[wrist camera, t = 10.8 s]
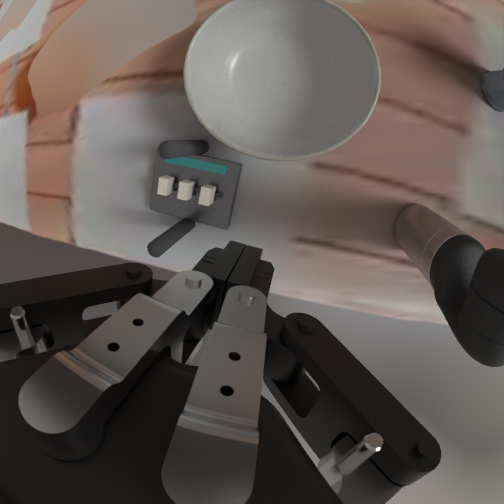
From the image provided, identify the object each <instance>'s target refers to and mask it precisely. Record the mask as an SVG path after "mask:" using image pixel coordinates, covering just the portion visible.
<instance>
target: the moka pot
mask: <svg viewBox="0 0 504 504" xmlns="http://www.w3.org/2000/svg"><path fill="white" fill-rule="evenodd" d="M481 85H482V90H483V93H484V96H485V97H486V99H487V100H488V102H489V104H490V105H491V106H492V107H493V108H494V109H496V110H498V111H499V112H503V111H504V68H503V70H499V71H492V72H486V73H484V75H483V76H482V80H481Z"/></svg>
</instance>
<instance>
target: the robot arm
mask: <svg viewBox="0 0 504 504" xmlns="http://www.w3.org/2000/svg"><path fill="white" fill-rule="evenodd" d="M394 236H395V239H396V241H397V243H398V244H399V245H400V247H401V248H402V249H403V250H404V252H405V253H406V254H407V255H408V256H409V258H410V259H411V260H412V261H413V263H414V264H415V265H416V266H417V268H418V269H419V270H420V272H421V273H422V274H423V275H424V277H425V278H426V279H427V281H428V282H429V283H430V285H431V286H432V287H433V289H434V294H435V299H436V302H437V304H438V305H439V307H440V309H441V311H442V313H443V314H444V316H445V318H446V320H447V322H448V324H449V326H450V328H451V330H452V332H453V333H454V335H455V337H456V338H457V340H458V342H459V343H460V345H461V346H462V347H463V348H464V349H465V351H466V352H467V353H468V354H469V355H470V356H471V357H472V358H474V359H475V360H476V361H478V362H480V363H481V364H483V365H486V366H491V367H499V366H503V365H504V249H499V248H492V249H489V250H487V251H486V250H485V248H484V247H483V246H482V245H481V243H479V242H478V241H477V240H476V239H474V238H473V237H471V236H470V235H468V234H467V233H465V232H464V231H462V230H461V229H459V228H458V227H456V226H455V225H453V224H452V223H450V222H449V221H447V220H446V219H444V218H443V217H441V216H440V215H438V214H436V213H435V212H433V211H432V210H430V209H429V208H427V207H425V206H423V205H419V204H415V205H410V206H408V207H406V208H404V209H403V210H402V211H401V212H400V214H399V215H398V216H397V219H396V221H395V224H394ZM262 250H263V249H260V248H256V247H253V246H249V245H247V246H246V245H245V244H242V243H238V242H234V241H230V242H229V243H228V244H227V246H226V247H225V248H224V249H221V248H217V247H216V248H213V249H211V250H208V252H207V253H206V254H205V255H204V256H203V257H202V259H201V260H200V261H199V262H198V263H197V265H196V266H195V267H194V268H193V269H192V270H187V271H182V272H179V273H178V274H176V275H175V276H174V277H173V278H172V279H171V280H170V281H163V280H155V279H152V275H153V272H152V270H151V269H150V268H149V267H148V266H146V265H143V264H140V263H125V264H119V265H113V266H107V267H101V268H94V269H88V270H82V271H76V272H70V273H64V274H58V275H52V276H46V277H40V278H34V279H28V280H22V281H16V282H10V283H5V284H0V504H385V503H386V502H387V501H388V500H390V499H391V497H393V496H394V495H395V494H396V493H397V492H398V491H400V490H402V489H404V488H405V487H407V486H409V485H410V484H412V483H413V482H415V481H417V480H418V479H420V478H422V477H423V476H424V475H426V474H428V473H429V472H431V471H432V470H434V469H435V468H436V467H437V466H438V464H439V462H440V459H441V450H440V446H439V444H438V442H437V440H436V439H435V438H434V437H433V436H432V435H431V434H430V433H429V432H428V431H427V430H426V429H425V428H424V427H423V426H422V425H421V424H420V423H419V422H418V421H417V420H416V419H415V417H414V416H412V415H411V413H410V412H408V410H407V409H405V407H404V406H403V405H402V404H401V403H400V402H399V401H398V400H397V399H396V398H395V397H394V396H393V395H392V394H391V393H390V392H389V391H388V390H387V389H386V388H385V387H384V386H383V385H382V384H381V383H380V382H379V381H378V380H377V379H376V378H375V377H374V376H373V375H372V374H371V373H370V372H369V371H368V370H367V369H366V368H365V367H364V366H363V365H362V364H361V363H360V362H359V361H358V360H357V359H356V358H355V357H354V356H353V355H352V354H351V353H350V352H349V350H348V349H346V347H345V346H344V345H343V344H342V343H341V342H340V341H338V339H337V338H336V337H334V336H333V334H332V333H331V332H330V331H329V330H328V329H327V328H326V327H325V326H324V325H323V324H322V323H321V322H320V321H319V320H317V319H316V318H314V317H312V316H310V315H308V314H304V313H292V314H289V315H288V316H286V318H284V317H281V316H280V315H278V314H276V313H275V312H274V311H272V310H271V309H270V307H269V306H268V304H267V297H268V293H269V289H270V285H271V281H272V277H273V272H274V267H273V265H272V264H271V262H267V261H263V260H260V259H261V255H262ZM113 301H117V311H116V312H115V313H114V314H112V315H108V316H104V317H99V318H94V319H90V320H83V319H82V313H83V311H84V310H85V309H86V308H87V307H89V306H94V305H99V304H104V303H108V302H113ZM208 329H210V330H212V331H211V333H210V336H209V339H208V342H207V345H206V348H205V351H204V353H203V356H202V359H201V362H200V365H199V366H191V365H189V364H190V363H191V361H192V359H193V358H194V356H195V355H196V353H197V351H198V350H199V348H200V347H201V345H202V344H203V341H204V336H205V334H206V333H207V331H208ZM306 371H307V372H308V373H309V374H310V376H311V377H312V378H313V379H314V380H315V382H316V383H317V384H318V386H319V388H320V391H319V390H318V389H317V387H316V386H315V385H314V384H313V382H312V381H311V380H310V379H309V378H308V376H307V375H306V374H305V372H306ZM263 379H264V382H265V384H266V386H267V387H268V388H269V390H270V392H271V393H272V395H273V396H274V397H275V399H276V400H277V402H278V403H279V405H280V406H281V407H282V409H283V410H284V412H285V413H286V414H287V416H288V417H289V419H290V420H291V422H292V423H293V424H294V426H295V427H296V428H297V430H298V431H299V432H300V434H301V435H302V437H303V438H304V439H305V441H306V442H307V443H308V445H309V446H310V447H311V449H312V450H313V451H314V453H316V455H317V456H318V458H319V459H320V461H319V463H318V468H317V467H316V466H315V464H314V463H313V461H312V460H311V459H310V457H309V456H308V454H307V453H306V451H305V450H304V448H303V447H302V446H301V444H300V443H299V441H298V440H297V438H296V437H295V435H294V434H293V432H292V431H291V429H290V428H289V426H288V425H287V423H286V422H285V420H284V418H283V417H282V415H281V414H280V412H279V411H278V410H277V409H276V408H275V407H274V405H272V404H271V403H270V402H269V401H268V400H267V399H266V398H264V397H263V396H262V395H261V389H262V380H263Z"/></svg>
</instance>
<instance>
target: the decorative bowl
mask: <svg viewBox="0 0 504 504" xmlns="http://www.w3.org/2000/svg"><path fill="white" fill-rule="evenodd" d="M183 81H184V88H185V93H186V96H187V99H188V102H189V104H190V107H191V109H192V111H193V112H194V114H195V116H196V117H197V119H198V120H199V121H200V123H201V124H202V125H203V126H204V128H205V129H206V130H207V131H208V132H209V133H210V134H211V135H213V136H214V137H215V138H216V139H218V140H219V141H220V142H222V143H223V144H225V145H226V146H228V147H230V148H232V149H234V150H236V151H238V152H240V153H243V154H246V155H249V156H252V157H256V158H260V159H265V160H273V161H295V160H302V159H308V158H312V157H316V156H319V155H322V154H325V153H327V152H329V151H332V150H333V149H335V148H337V147H339V146H341V145H342V144H344V143H345V142H347V141H348V140H349V139H351V138H352V137H353V136H354V135H355V134H356V133H357V132H358V131H359V130H360V129H361V128H362V127H363V126H364V124H365V123H366V122H367V120H368V119H369V117H370V116H371V114H372V112H373V110H374V108H375V105H376V103H377V100H378V96H379V92H380V85H381V69H380V63H379V59H378V55H377V52H376V49H375V47H374V45H373V42H372V41H371V39H370V37H369V35H368V34H367V32H366V31H365V30H364V28H363V27H362V26H361V25H360V23H359V22H358V21H357V20H356V19H355V18H354V17H353V16H352V15H350V14H349V13H348V12H347V11H345V10H344V9H343V8H341V7H340V6H338V5H337V4H335V3H333V2H331V1H329V0H231V1H230V2H228V3H226V4H224V5H223V6H221V7H220V8H218V9H217V10H216V11H214V12H213V13H212V14H211V15H210V16H209V17H208V18H207V19H206V20H205V21H204V22H203V23H202V24H201V26H200V27H199V28H198V30H197V31H196V33H195V34H194V36H193V38H192V40H191V42H190V44H189V47H188V49H187V52H186V56H185V61H184V68H183Z"/></svg>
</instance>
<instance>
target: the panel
mask: <svg viewBox="0 0 504 504" xmlns="http://www.w3.org/2000/svg"><path fill="white" fill-rule="evenodd" d="M241 169H242V164H241V163H237V162H233V161H228V160H223V159H219V158H214V157H209V156H204V155H199V154H198V155H191V156H185V157H178V158H172V159H163V158H162V157H161V156H160V155H159V152H158V149H157V155H156V162H155V169H154V176H153V184H152V192H151V201H150V210H154V211H158V212H162V213H166V214H170V215H173V216H177V217H181V218H185V219H189V220H192V221H196V222H200V223H204V224H207V225H211V226H215V227H219V228H222V229H226V230H227V228H228V227H229V225H230V220H231V215H232V210H233V206H234V201H235V196H236V192H237V187H238V182H239V178H240V173H241ZM162 176H171V177H174V183H173V190H172V193H171V194H169V195H167V196H164V195H160V194H157V191H158V183H159V177H162ZM183 180H189V181H194V188H193V194H192V198H191V199H189V200H187V201H185V200H181V199H177V195H178V189H179V182H180V181H183ZM206 184H207V185H212V186H216V189H215V195H214V200H213V203H212V204H211V205H209V206H205V205H201V204H198V203H199V197H200V191H201V186H204V185H206Z"/></svg>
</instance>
